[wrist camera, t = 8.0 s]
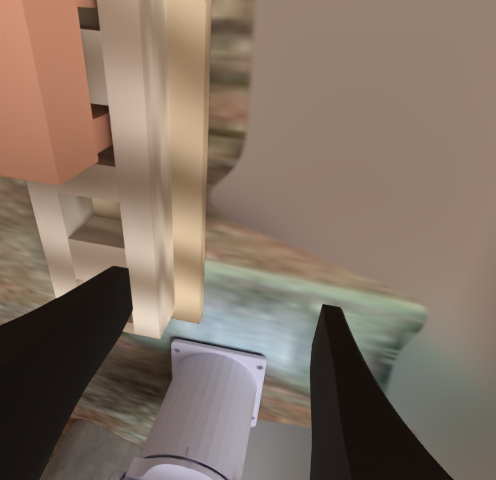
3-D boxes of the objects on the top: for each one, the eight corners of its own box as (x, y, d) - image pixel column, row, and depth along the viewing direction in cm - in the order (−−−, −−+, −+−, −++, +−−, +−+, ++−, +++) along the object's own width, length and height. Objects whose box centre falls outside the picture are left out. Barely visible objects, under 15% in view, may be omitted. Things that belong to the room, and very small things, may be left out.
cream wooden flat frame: (202, 314, 28) (186, 354, 25) (72, 289, 29) (39, 324, 26) (214, -96, 15) (183, -129, 12) (-17, -113, 17) (-104, -147, 13)
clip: (135, 138, 21) (59, 185, 15) (86, 131, 21) (-8, 174, 15) (121, -37, 16) (7, -71, 10) (60, -43, 17) (-85, -79, 11)
